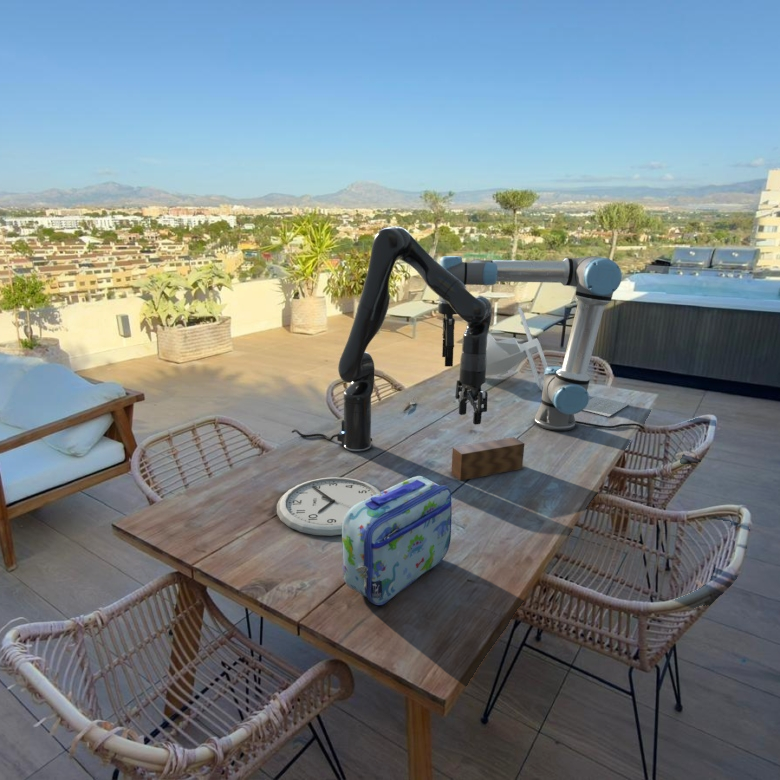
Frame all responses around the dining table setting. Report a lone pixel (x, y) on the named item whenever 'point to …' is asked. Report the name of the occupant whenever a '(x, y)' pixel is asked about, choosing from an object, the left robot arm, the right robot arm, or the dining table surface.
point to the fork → (411, 403)
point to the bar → (487, 458)
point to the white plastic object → (512, 353)
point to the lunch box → (395, 537)
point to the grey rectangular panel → (603, 406)
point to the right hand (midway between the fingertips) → (447, 361)
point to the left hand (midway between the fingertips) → (469, 419)
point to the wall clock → (322, 504)
